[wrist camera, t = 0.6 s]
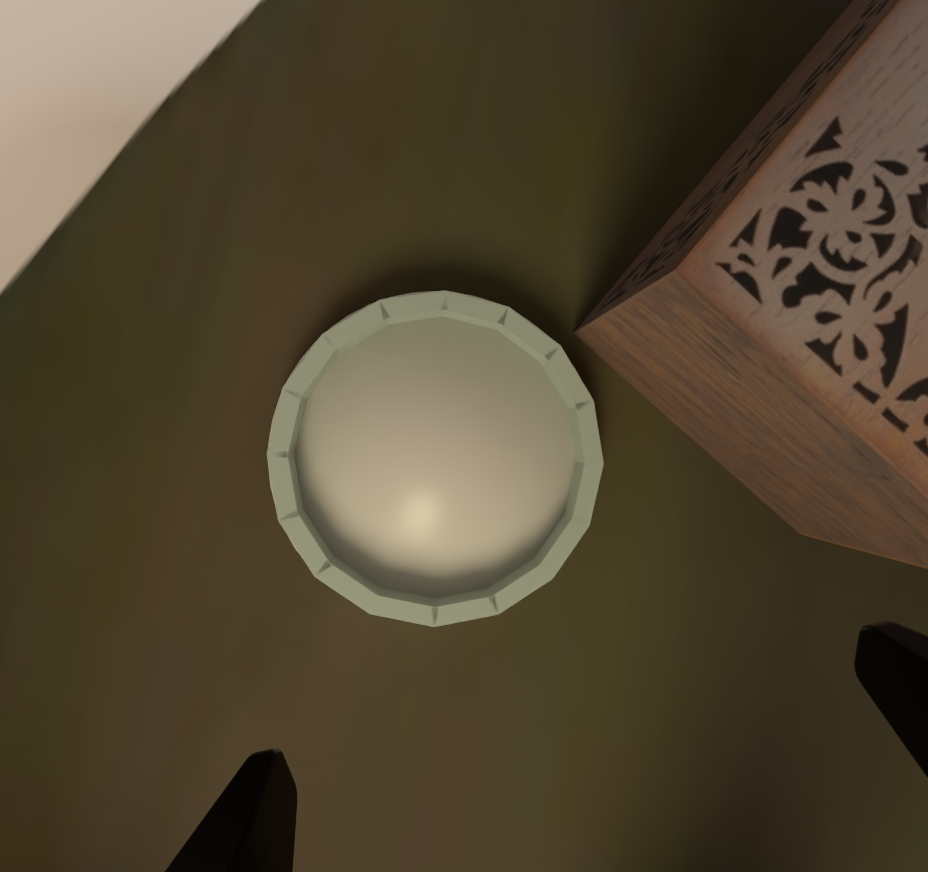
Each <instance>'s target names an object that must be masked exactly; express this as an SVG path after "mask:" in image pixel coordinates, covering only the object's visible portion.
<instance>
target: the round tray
mask: <svg viewBox="0 0 928 872" xmlns="http://www.w3.org/2000/svg"><path fill="white" fill-rule="evenodd" d="M267 459H268V467H269V477H270V486H271V490H272V494H273V498H274V502H275V507H276V511H277V517H278V521H279V523H280V524H281V526H282V527H283V529H284V530H285V532H286V533H287V535H288V537H289V538H290V540H291V542H292V544H293V546H294V547H295V549H296V550H297V551H298V553H299V554H300V555H301V557H302V558H303V560H304V561H305V563H306V564H307V566H308V567H309V569H310V570H311V572H312V573H313V575H314V577H316V578H317V579H319V580H320V581H322V582H323V583H325V584H326V585H328V586H329V587H331V588H332V589H333V590H335V591H336V592H338V593H339V594H341V595H342V596H344V597H345V598H347V599H348V600H350V601H351V602H353V603H354V604H356V605H357V606H359V607H360V608H362V609H363V610H365V611H366V612H367V613H369V614H372V615H377V616H382V617H387V618H392V619H397V620H402V621H407V622H412V623H417V624H422V625H427V626H432V627H437V626H442V625H447V624H452V623H457V622H462V621H467V620H472V619H477V618H483V617H488V616H493V615H498V614H500V613H501V612H503V611H504V610H506V609H507V608H509V607H510V606H512V605H514V604H515V603H517V602H518V601H520V600H521V599H523V598H524V597H526V596H527V595H529V594H530V593H532V592H533V591H535V590H536V589H538V588H539V587H541V586H543V585H544V584H546V583H547V582H549V581H550V580H552V579H553V578H554V576H555V575H556V573H557V572H558V570H559V569H560V568H561V566H562V565H563V563H564V562H565V560H566V559H567V558H568V556H569V555H570V553H571V552H572V550H573V549H574V547H575V546H576V545H577V543H578V542H579V540H580V539H581V537H582V536H583V535H584V533H585V532H586V530H587V529H588V527H589V526H590V521H591V517H592V513H593V508H594V504H595V499H596V495H597V491H598V486H599V482H600V478H601V473H602V469H603V465H604V462H603V456H602V450H601V443H600V437H599V431H598V424H597V418H596V412H595V405H594V400H593V398H592V397H591V395H590V393H589V392H588V390H587V388H586V387H585V385H584V383H583V382H582V380H581V378H580V377H579V375H578V373H577V371H576V369H575V368H574V367H573V365H572V364H571V362H570V360H569V359H568V357H567V355H566V354H565V352H564V350H563V349H562V347H561V345H559V344H558V343H557V342H555V341H554V340H553V339H551V338H550V337H549V336H547V335H546V334H545V333H544V332H543V331H542V330H540V329H539V328H538V327H537V326H536V325H535V324H533V323H532V322H530V321H529V320H527V319H526V318H524V317H522V316H521V315H519V314H518V313H517V312H515V311H514V310H513V309H511V308H510V307H508V306H505V305H501V304H498V303H495V302H492V301H489V300H486V299H483V298H480V297H477V296H472V295H466V294H461V293H456V292H450V291H446V290H444V291H428V292H415V293H408V294H403V295H398V296H394V297H389V298H386V299H381V300H378V301H377V302H375V303H372V304H369V305H367V306H365V307H363V308H361V309H360V310H358V311H356V312H354V313H352V314H350V315H348V316H347V317H345V318H344V319H342V320H341V321H339V322H338V323H337V324H335V325H334V326H332V327H331V328H330V329H329V330H328V331H326V332H325V333H323V334H322V335H321V336H320V337H319V339H318V340H317V341H315V342H314V344H313V345H312V346H311V347H310V348H309V350H308V351H307V352H306V353H305V354H304V355H303V357H302V358H301V359H300V361H299V362H298V364H297V365H296V367H295V368H294V370H293V372H292V373H291V375H290V376H289V378H288V380H287V382H286V384H285V385H284V387H283V388H282V391H281V395H280V397H279V400H278V403H277V407H276V410H275V413H274V416H273V419H272V425H271V431H270V438H269V446H268V450H267Z"/></svg>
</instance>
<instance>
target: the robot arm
mask: <svg viewBox="0 0 928 872" xmlns="http://www.w3.org/2000/svg"><path fill="white" fill-rule="evenodd" d="M854 667H855V672H856V675H857V677H858V679H859V681H860V683H861V684H862V686H863V687H864V688H865V690H866V691H867V693H868V694H869V696H870V697H871V698H872V700H873V701H874V703H875V704H876V705H877V707H878V708H879V710H880V711H881V713H882V714H883V715H884V717H885V718H886V720H887V721H888V722H889V724H890V725H891V727H892V728H893V730H894V731H895V732H896V734H897V735H898V737H899V738H900V739H901V741H902V742H903V744H904V745H905V747H906V748H907V749H908V751H909V752H910V754H911V755H912V756H913V758H914V759H915V761H916V762H917V764H918V765H919V766H920V768H921V769H922V770H923V772H924V773H925V774H926V776H927V777H928V636H926V635H924V634H921V633H919V632H916V631H914V630H912V629H909V628H907V627H904V626H902V625H900V624H897V623H894V622H889V621H885V622H879V623H875V624H870V625H866V626H863V627H862V628H861V630H860V632H859V637H858V643H857V649H856V656H855V662H854ZM296 812H297V789H296V785H295V782H294V779H293V777H292V774H291V772H290V770H289V767H288V765H287V762H286V760H285V757H284V755H283V753H282V751H281V750H279V749H270V750H265V751H260V752H256V753H253V754H252V755H250V756H249V757H248V758H247V759H246V761H245V762H244V764H243V765H242V766H241V768H240V769H239V770H238V772H237V773H236V775H235V776H234V777H233V779H232V780H231V781H230V783H229V784H228V786H227V787H226V788H225V790H224V791H223V792H222V794H221V795H220V797H219V798H218V799H217V801H216V802H215V803H214V805H213V806H212V808H211V809H210V810H209V812H208V813H207V814H206V816H205V817H204V819H203V820H202V821H201V823H200V824H199V825H198V827H197V828H196V830H195V831H194V832H193V834H192V835H191V836H190V838H189V839H188V841H187V842H186V843H185V845H184V846H183V847H182V849H181V850H180V852H179V853H178V854H177V856H176V857H175V858H174V860H173V861H172V863H171V864H170V865H169V867H168V868H167V869H166V871H165V872H292V870H293V856H294V841H295V826H296Z"/></svg>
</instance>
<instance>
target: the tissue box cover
mask: <svg viewBox="0 0 928 872" xmlns="http://www.w3.org/2000/svg"><path fill="white" fill-rule="evenodd" d="M573 334H574V335H575V336H576V337H577V338H578V339H580V340H581V341H582V342H583V343H584V344H585V345H586V346H587V347H589V348H590V349H591V350H592V351H593V352H594V353H595V354H596V355H598V356H599V357H600V358H601V359H602V360H603V361H604V362H606V363H607V364H608V365H609V366H610V367H611V368H612V369H613V370H615V371H616V372H617V373H618V374H619V375H620V376H621V377H623V378H624V379H625V380H626V381H627V382H628V383H629V384H630V385H632V386H633V387H634V388H635V389H636V390H637V391H638V392H639V393H641V394H642V395H643V396H644V397H645V398H646V399H647V400H649V401H650V402H651V403H652V404H653V405H654V406H655V407H656V408H658V409H659V410H660V411H661V412H662V413H663V414H664V415H666V416H667V417H668V418H669V419H670V420H671V421H672V422H673V423H675V424H676V425H677V426H678V427H679V428H680V429H681V430H683V431H684V432H685V433H686V434H687V435H688V436H689V437H690V438H692V439H693V440H694V441H695V442H696V443H697V444H698V445H699V446H701V447H702V448H703V449H704V450H705V451H706V452H707V453H709V454H710V455H711V456H712V457H713V458H714V459H715V460H716V461H718V462H719V463H720V464H721V465H722V466H723V467H724V468H726V469H727V470H728V471H729V472H730V473H731V474H732V475H733V476H735V477H736V478H737V479H738V480H739V481H740V482H741V483H742V484H744V485H745V486H746V487H747V488H748V489H749V490H750V491H752V492H753V493H754V494H755V495H756V496H757V497H758V498H759V499H761V500H762V501H763V502H764V503H765V504H766V505H767V506H769V507H770V508H771V509H772V510H773V511H774V512H775V513H776V514H778V515H779V516H780V517H781V518H782V519H783V520H784V521H785V522H787V523H788V524H789V525H790V526H791V527H792V528H793V529H795V530H796V531H797V532H798V533H799V534H801V535H805V536H808V537H812V538H816V539H819V540H823V541H827V542H831V543H834V544H838V545H842V546H845V547H849V548H853V549H856V550H860V551H864V552H868V553H871V554H875V555H879V556H882V557H886V558H890V559H893V560H897V561H901V562H905V563H908V564H912V565H916V566H919V567H923V568H927V569H928V0H853V1H852V2H851V3H850V4H849V5H848V7H847V8H846V9H845V10H844V11H843V13H842V14H841V15H840V16H839V17H838V18H837V20H836V21H835V22H834V23H833V24H832V26H831V27H830V28H829V29H828V30H827V32H826V33H825V34H824V35H823V36H822V38H821V39H820V40H819V41H818V42H817V43H816V45H815V46H814V47H813V48H812V49H811V51H810V52H809V53H808V54H807V55H806V57H805V58H804V59H803V60H802V61H801V63H800V64H799V65H798V66H797V67H796V68H795V70H794V71H793V72H792V73H791V74H790V76H789V77H788V78H787V79H786V80H785V82H784V83H783V84H782V85H781V86H780V88H779V89H778V90H777V91H776V92H775V93H774V95H773V96H772V97H771V98H770V99H769V101H768V102H767V103H766V104H765V105H764V107H763V108H762V109H761V110H760V111H759V113H758V114H757V115H756V116H755V117H754V118H753V120H752V121H751V122H750V123H749V124H748V126H747V127H746V128H745V129H744V130H743V132H742V133H741V134H740V135H739V136H738V138H737V139H736V140H735V141H734V142H733V143H732V145H731V146H730V147H729V148H728V149H727V151H726V152H725V153H724V154H723V155H722V157H721V158H720V159H719V160H718V161H717V163H716V164H715V165H714V166H713V167H712V168H711V170H710V171H709V172H708V173H707V174H706V176H705V177H704V178H703V179H702V180H701V182H700V183H699V184H698V185H697V186H696V188H695V189H694V190H693V191H692V192H691V193H690V195H689V196H688V197H687V198H686V199H685V201H684V202H683V203H682V204H681V205H680V207H679V208H678V209H677V210H676V211H675V213H674V214H673V215H672V216H671V217H670V218H669V220H668V221H667V222H666V223H665V224H664V226H663V227H662V228H661V229H660V230H659V232H658V233H657V234H656V235H655V236H654V238H653V239H652V240H651V241H650V242H649V243H648V245H647V246H646V247H645V248H644V249H643V251H642V252H641V253H640V254H639V255H638V257H637V258H636V259H635V260H634V261H633V263H632V264H631V265H630V266H629V267H628V268H627V270H626V271H625V272H624V273H623V274H622V276H621V277H620V278H619V279H618V280H617V282H616V283H615V284H614V285H613V286H612V288H611V289H610V290H609V291H608V292H607V293H606V295H605V296H604V297H603V298H602V299H601V301H600V302H599V303H598V304H597V305H596V307H595V308H594V309H593V310H592V311H591V313H590V314H589V315H588V316H587V317H586V318H585V320H584V321H583V322H582V323H581V324H580V326H579V327H578V328H577V329H576V330H575V332H574V333H573Z"/></svg>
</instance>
